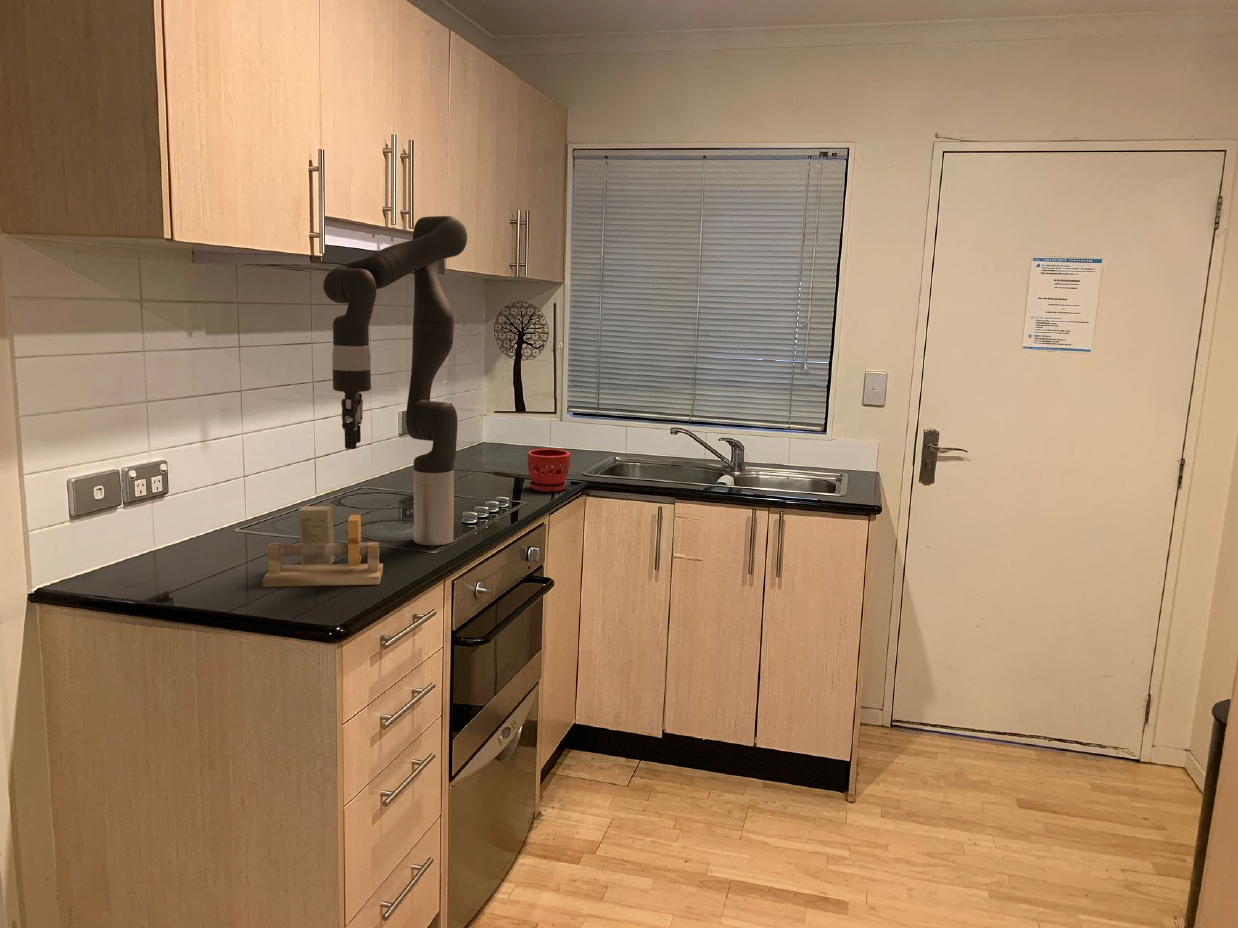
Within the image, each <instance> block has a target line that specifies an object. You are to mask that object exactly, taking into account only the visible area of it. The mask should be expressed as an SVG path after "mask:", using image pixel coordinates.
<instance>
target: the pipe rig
mask: <svg viewBox="0 0 1238 928" xmlns="http://www.w3.org/2000/svg"><path fill="white" fill-rule="evenodd" d="M267 555H268V557H267V559H268V571H267V572H266V573H265V575H264V577H263V578H262V587H265V588H267V587H305V586H306V587H308V586H309V587H311V586H315V587H317V586H319V587H320V586H360V585H362V586H363V585H366V586H367V585H380V584H381V579H382V576H383V571H384V563H380V542H379V541H369V542H361V543H359V555H361V556H365V555H367V563H360V564H359V566H348V563H332V564H310V565H301V564H283V560H282V558H283V557H292V556H293V557H295V556H297V557H301V556H314V555H334V556H347V557H348V541H347V542H339V543H338V542H334V543H313V544H300V543H280V542H279V543H278V542H277V543H276V542H275V543H270V544H269V545H268V547H267Z"/></svg>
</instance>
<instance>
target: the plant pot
mask: <svg viewBox="0 0 1238 928" xmlns="http://www.w3.org/2000/svg"><path fill="white" fill-rule="evenodd" d="M570 458H571V455H570V452H569V451H568V450H563V449H557V448H537V449H532V450H528V452H527V470H528V475H529V477H530V479H531V481H530V482H529V483H528V484H529V486H530V488H531V489H533V490H535V491H538V492H542V493H544V492H546V493H554V492H560V491H563V490H564V489H566V487H567V484H568V483H567V482H566V479H567V477H568V474H569V469H570V463H571V462H570V461H571V459H570ZM552 466H553V467H552Z"/></svg>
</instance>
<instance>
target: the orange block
mask: <svg viewBox="0 0 1238 928" xmlns="http://www.w3.org/2000/svg"><path fill="white" fill-rule="evenodd" d="M361 518H362V515H361V514H350V515H349V518H348V519H347V542H348V556H347V557H348V558H347V564H348V566H359V564H361V562H362V561H361V560H362V555H359V543H362V524H361V523H362V521H361V520H362V519H361Z"/></svg>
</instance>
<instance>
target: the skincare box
mask: <svg viewBox="0 0 1238 928" xmlns="http://www.w3.org/2000/svg"><path fill="white" fill-rule="evenodd" d="M297 516H298V517H297V518H298V533H299V536H298V537H299V544H313V543H335V542H334V541H335V540H334V539H335V538H334V520H333V519H334V518H333V506H331V505H330V506H329V505H328V506H327V505H324V506H323V505H321V506H319V505H318V506H317V505H316V506H315V505H314V506H312V505H311V506H309V505H308V506H305V505H304V506H302V507H301V508H299V509H298V510H297ZM334 562H335V555H314V556H300V565H310V564H334Z"/></svg>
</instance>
